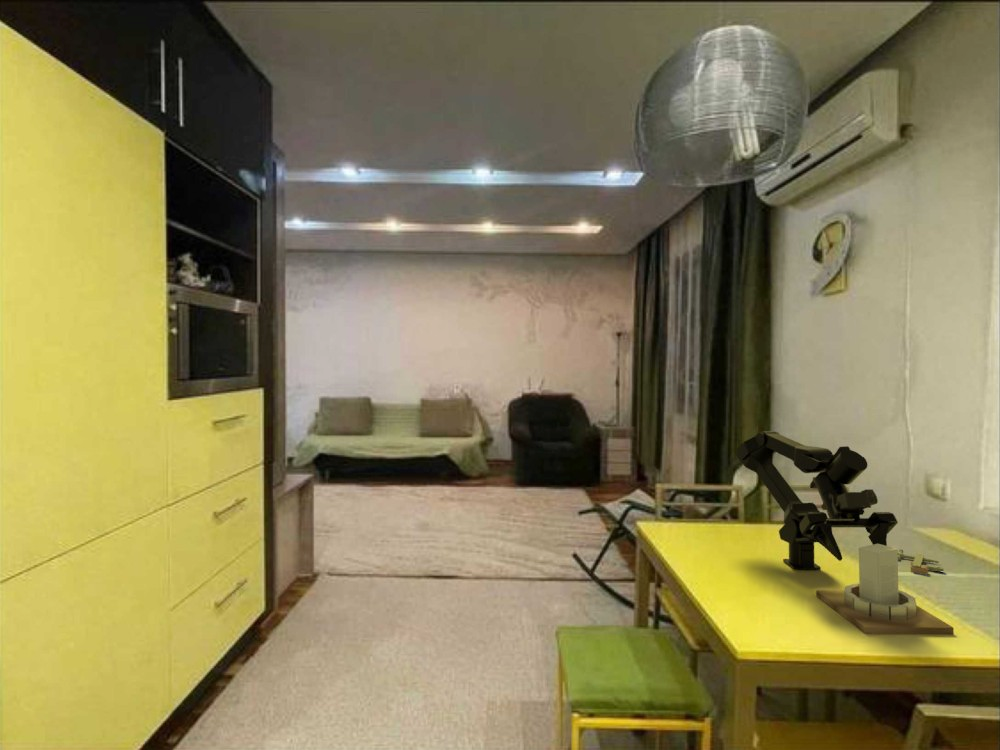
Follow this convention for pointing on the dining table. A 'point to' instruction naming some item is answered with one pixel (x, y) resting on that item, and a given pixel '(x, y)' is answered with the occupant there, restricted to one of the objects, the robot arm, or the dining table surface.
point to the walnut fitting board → (872, 625)
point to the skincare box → (879, 574)
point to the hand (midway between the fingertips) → (863, 559)
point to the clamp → (920, 563)
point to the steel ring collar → (880, 605)
